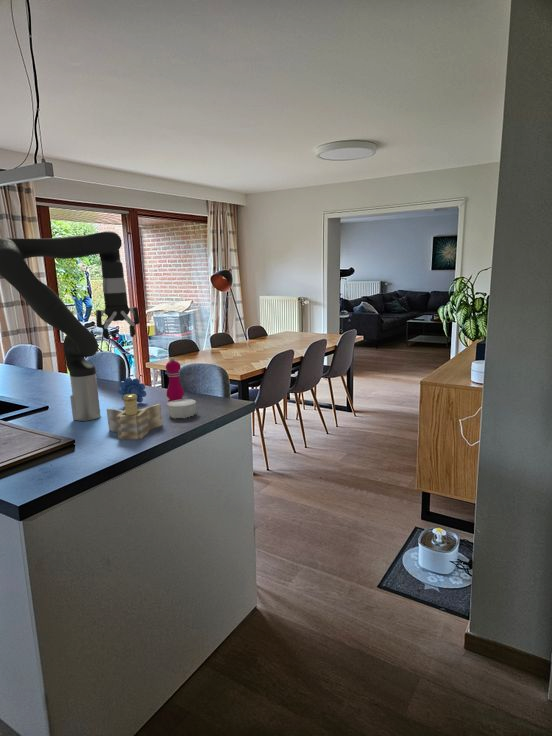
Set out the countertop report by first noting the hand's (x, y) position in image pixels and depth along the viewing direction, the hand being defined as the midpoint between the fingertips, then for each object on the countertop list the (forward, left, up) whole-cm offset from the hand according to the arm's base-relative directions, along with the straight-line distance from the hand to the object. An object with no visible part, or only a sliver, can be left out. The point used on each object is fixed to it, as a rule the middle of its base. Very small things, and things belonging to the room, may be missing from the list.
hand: (120, 338), depth 168 cm
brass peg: (+6, -12, -32) cm, 35 cm away
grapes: (-8, +28, -32) cm, 44 cm away
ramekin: (+17, +11, -32) cm, 38 cm away
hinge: (+4, -8, -32) cm, 33 cm away
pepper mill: (+10, +28, -32) cm, 44 cm away
